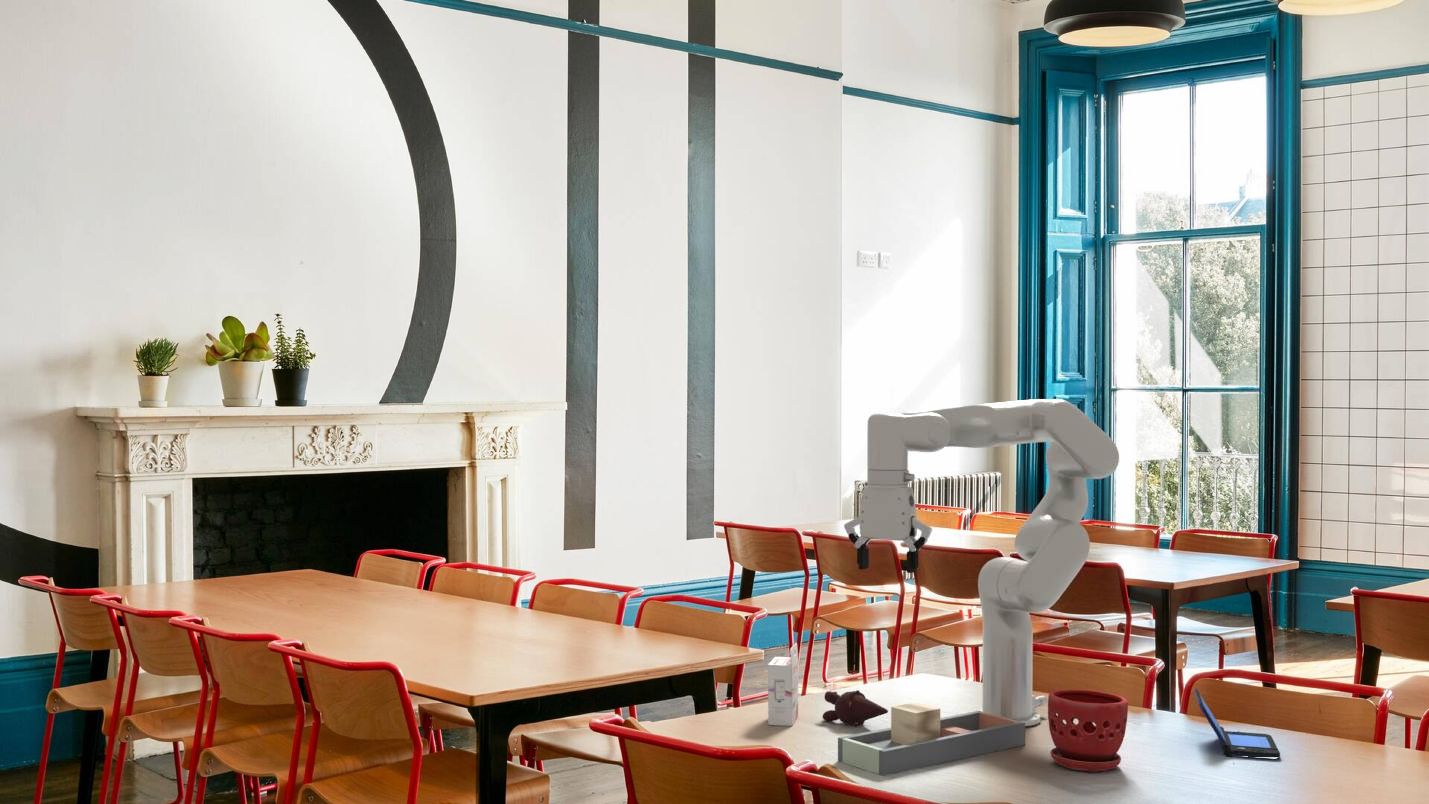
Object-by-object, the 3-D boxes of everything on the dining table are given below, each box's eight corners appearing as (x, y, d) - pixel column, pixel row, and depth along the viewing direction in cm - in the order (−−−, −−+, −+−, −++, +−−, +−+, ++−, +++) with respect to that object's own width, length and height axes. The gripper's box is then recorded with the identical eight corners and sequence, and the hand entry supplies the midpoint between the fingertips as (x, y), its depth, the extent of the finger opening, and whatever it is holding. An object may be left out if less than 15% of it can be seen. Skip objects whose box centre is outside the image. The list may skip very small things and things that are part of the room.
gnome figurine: (899, 694, 253) (836, 690, 263) (877, 690, 248) (813, 686, 258) (897, 731, 251) (833, 725, 261) (874, 728, 246) (810, 722, 256)
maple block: (915, 736, 236) (915, 702, 236) (940, 743, 231) (940, 708, 231) (891, 741, 233) (891, 706, 233) (915, 748, 228) (915, 713, 228)
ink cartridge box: (773, 715, 263) (774, 640, 263) (798, 716, 262) (799, 641, 262) (766, 725, 254) (767, 648, 254) (792, 726, 253) (792, 649, 253)
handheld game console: (1281, 762, 230) (1281, 709, 230) (1199, 756, 234) (1199, 703, 234) (1270, 741, 245) (1270, 690, 245) (1193, 735, 249) (1193, 686, 249)
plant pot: (1115, 780, 218) (1115, 706, 218) (1037, 768, 225) (1037, 697, 225) (1136, 762, 229) (1136, 692, 229) (1061, 751, 236) (1061, 683, 236)
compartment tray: (977, 732, 250) (977, 710, 250) (1025, 744, 240) (1025, 722, 240) (837, 760, 229) (837, 737, 229) (883, 775, 220) (884, 751, 220)
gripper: (938, 479, 248) (938, 571, 248) (853, 477, 257) (853, 565, 257) (923, 481, 242) (923, 575, 242) (837, 478, 250) (836, 569, 250)
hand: (887, 570), depth 249 cm, fingers open, 9 cm apart
